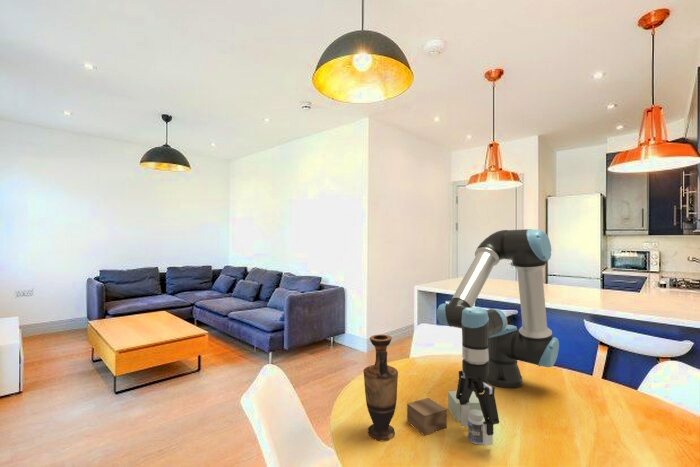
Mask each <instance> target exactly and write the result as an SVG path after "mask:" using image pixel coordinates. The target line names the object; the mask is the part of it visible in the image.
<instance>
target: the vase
mask: <svg viewBox="0 0 700 467" xmlns="http://www.w3.org/2000/svg"><path fill="white" fill-rule="evenodd" d="M392 338H393V337H392V336H391V335H388V334H375V335H371V336H370V337H369V341H370V343H371V344H372V346H373V347H374V349H375V362H374V364H372V365H368V366H366V367H364V369H363V381H364V383H363V384H364V394H365V402H366V408H367V411H368V414H369V417H370V419H371V422H372V424H371V425H370V426H369V427H368V429H367V434H368V437H370V438H371V439H373V440H375V439H376V441H379V440H387V439H389V440H390V439H392V438H391V437H393V438H394V437H395V434H396V433H395V428H394V427H393V426H392V425H390V423H391V421H392V420H393V417H394V415H395V412H396V408H397V407H396V406H397V398H398V380H399V379H398V377H399V372H398V369H397V368H396V367H393V366H390V365H388V351H387V348H388V346H390V344H391V341H392ZM387 441H388V440H387Z"/></svg>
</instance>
